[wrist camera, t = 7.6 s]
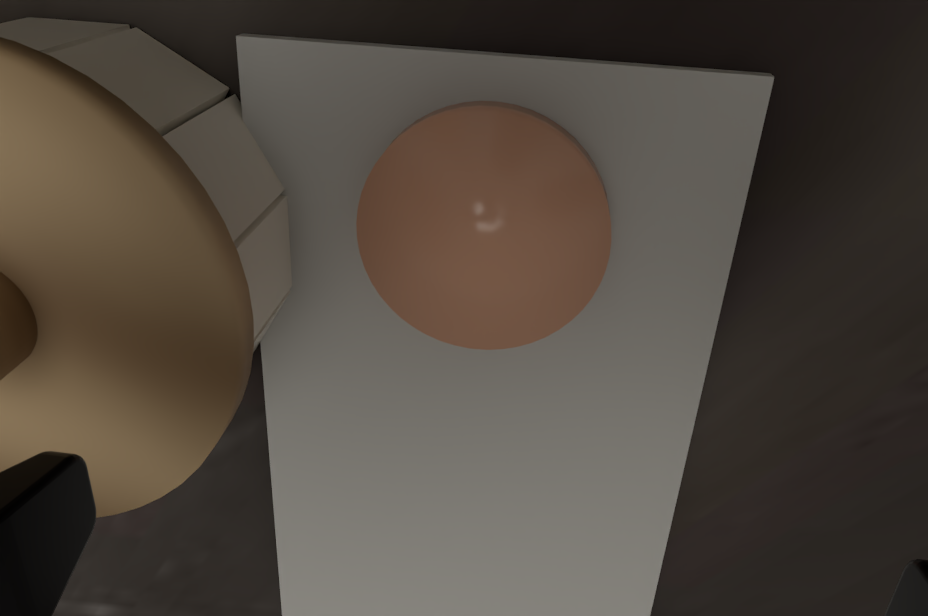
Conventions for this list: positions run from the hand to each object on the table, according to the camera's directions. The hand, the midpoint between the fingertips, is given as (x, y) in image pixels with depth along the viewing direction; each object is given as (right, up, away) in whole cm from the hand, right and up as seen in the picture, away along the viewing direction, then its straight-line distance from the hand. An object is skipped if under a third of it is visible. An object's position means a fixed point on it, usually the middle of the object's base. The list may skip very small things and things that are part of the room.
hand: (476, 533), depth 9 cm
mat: (0, -1, +14) cm, 14 cm away
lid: (-10, +3, +8) cm, 13 cm away
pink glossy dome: (0, +5, +11) cm, 12 cm away
